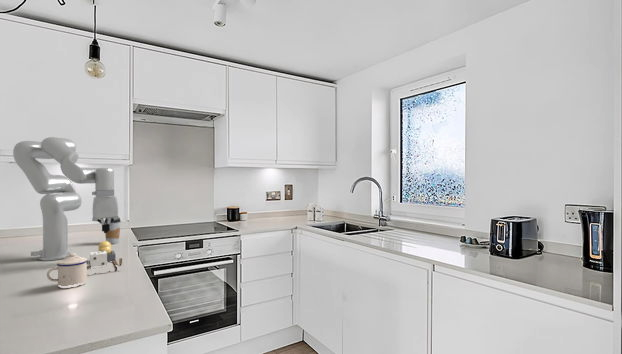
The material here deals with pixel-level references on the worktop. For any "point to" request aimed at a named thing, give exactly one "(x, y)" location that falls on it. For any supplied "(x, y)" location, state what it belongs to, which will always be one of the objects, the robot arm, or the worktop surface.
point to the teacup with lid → (70, 270)
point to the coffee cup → (113, 231)
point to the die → (98, 258)
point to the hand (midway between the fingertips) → (105, 232)
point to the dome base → (111, 256)
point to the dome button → (105, 247)
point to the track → (119, 261)
